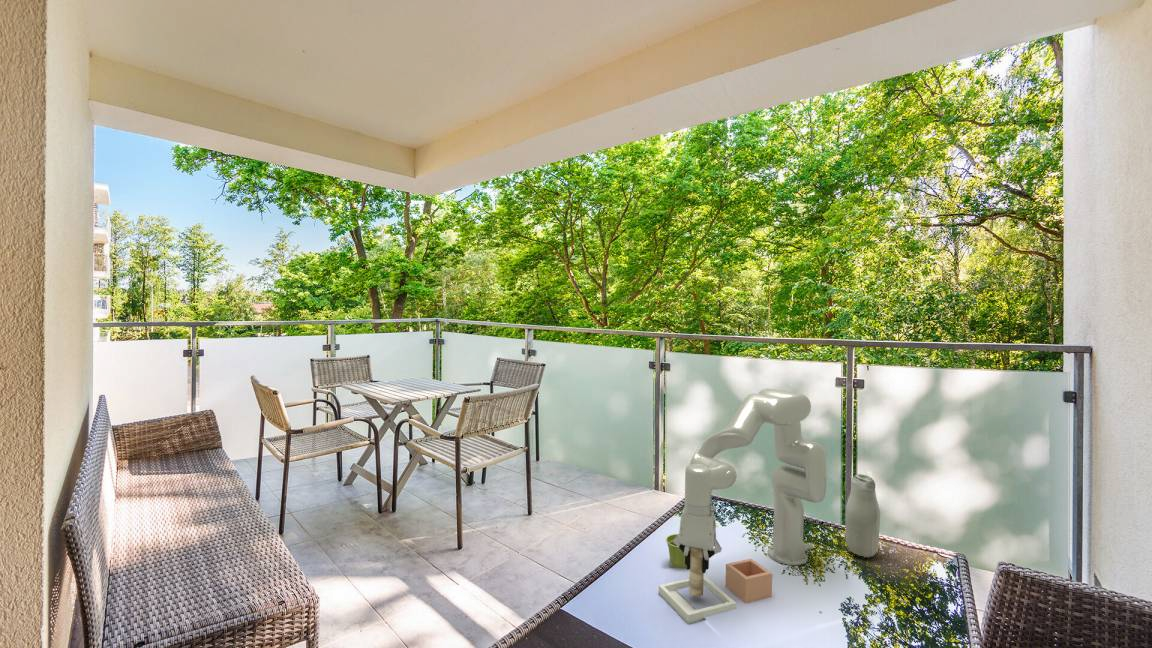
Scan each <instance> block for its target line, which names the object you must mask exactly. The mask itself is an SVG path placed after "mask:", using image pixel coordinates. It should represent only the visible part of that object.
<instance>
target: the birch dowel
mask: <svg viewBox="0 0 1152 648" xmlns="http://www.w3.org/2000/svg"><path fill="white" fill-rule="evenodd" d="M703 558H704V552H703V549H699V548H694V547H690V569H689V578H690V580H689V586H688V588H689V589H688V592H689V594H690V595H691V596H692V597H703V595H704V584H703V581H704V576H705V573H703V572H702V567H703Z"/></svg>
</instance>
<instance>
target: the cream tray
mask: <svg viewBox="0 0 1152 648" xmlns="http://www.w3.org/2000/svg"><path fill="white" fill-rule="evenodd" d="M689 580H690V577H689V578H685V579H680V580H676V581H672V582H671V581H670V582H666V583H662V584H659V585H658V594H659V596H660V597H661V598H662V599H663V600H665V602H666V603H667V604H668V605H669V606H670V607H671V609H673V610H674V611H675V612H676V613H677V614H678V615H679V616H680V617H681V619H682V620H683V621H685V623H686V624H687V625H690V624H694V623H698V622H702V621H706V620H707V619H706V618H705V617H708V616H709V617H710V616H713V615H717V614H720V613H725V612H728V611H729V612H730V611H733V610H737V602H736V601H735V600H734V599H732V598H731V597H730V596H729V595H728V594H726V593H725V592H724V591H723V590H722V589H721V588H719V586H717V584H715V583H713V582H712V581H711V580H710V579H709V578H708V577H706V576H705V575H704V581H703V586H705V587H707V589H709V590H710V591H711V592H712V593H713V594H714V595H716V596H717V597H718V598H719V599H720V600H722V602H723V603H719V604H715V605H711V606H706V607H704V608H699V609H696V608H695V607H694V606H693V605H692V604H691V603H690V602H689V601H688V600H687V599H686V598H685V597H684V596H683V595H682V594H681V593H680V592H679V591H677V590H678V589H683V588H688V587H689Z"/></svg>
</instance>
